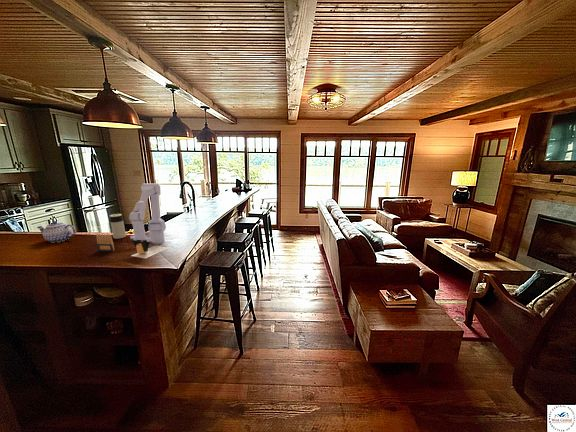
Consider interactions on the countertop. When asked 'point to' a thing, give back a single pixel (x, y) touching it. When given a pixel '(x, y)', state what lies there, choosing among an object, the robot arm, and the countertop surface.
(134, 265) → the countertop surface
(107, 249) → the tan upright slab
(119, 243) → the countertop surface
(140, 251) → the cupcake
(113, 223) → the travel mug
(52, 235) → the teapot
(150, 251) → the mounting plate
